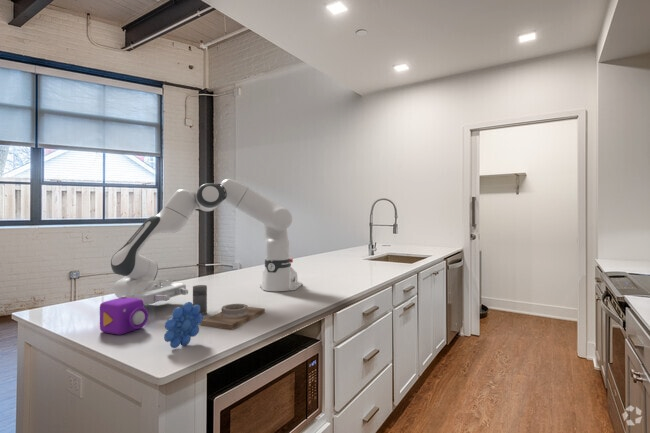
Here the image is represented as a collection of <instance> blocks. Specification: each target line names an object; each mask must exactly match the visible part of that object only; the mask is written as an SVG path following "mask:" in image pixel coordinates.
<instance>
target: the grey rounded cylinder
mask: <svg viewBox="0 0 650 433" xmlns="http://www.w3.org/2000/svg"><path fill="white" fill-rule="evenodd" d="M192 304H193V306H194V305H199V306H200V312H199V314H202V316H205V315H207V314H208V285H206V284H197V285H193V286H192Z"/></svg>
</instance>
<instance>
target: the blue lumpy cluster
mask: <svg viewBox="0 0 650 433" xmlns="http://www.w3.org/2000/svg"><path fill="white" fill-rule="evenodd" d="M199 312H200V306H199V305H194V306H193V302H191V301H187V302H185V303H184V304H183V305H182V307H181V306H177V307H175V308H174V309H173V311H172V313H171V315H172V317H170V318H168V319H167V320H166V321H165V324H164V328H165V329H166V330H167V331H166V332H165V334H164V336H163V337H164V338H163V339H164V341H165V342H167V343H169V342H170V343H169V345H170V347H171V348H172V349H177V348H178V347H179V346H182V347H186V346H188V345H189V344H190V342H191V340H192V338H193V337H196V336H197V335H198V334H199V333H200V327H199V326H198V325H201V322H202V320H203V319H204V317H203V316H204V315H202V314H199ZM191 337H192V338H191Z"/></svg>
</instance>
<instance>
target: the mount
mask: <svg viewBox="0 0 650 433" xmlns="http://www.w3.org/2000/svg"><path fill="white" fill-rule="evenodd" d="M265 310H266V309H265V308H264V307H254V306H248V304H245V303H230V304H226V305H222V307H221V312H217V313H216V314H213V315H211V316H209V317H205V318H203V320H202V322H201V323H200V325H201V326H206V327H214V328H219V329H220V328H221V329H225V330H233V329H236V328H237V327H239V326H241V325H243V324H245V323H247V322H249V321H251V320H253V319H255V318H257V317H259V316H261V315H263V314H265V313H266V311H265Z"/></svg>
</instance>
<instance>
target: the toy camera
mask: <svg viewBox="0 0 650 433" xmlns="http://www.w3.org/2000/svg"><path fill="white" fill-rule="evenodd" d="M148 319H149V312H148V310H147V309H146V308H145V305H144V303H143V300H141V299H137V298H129V297H127V296H121V298H118V297H117V298H115V299H114V298H113V299H110V300H106V301H104V302H100V305H99V329H100V331H101V332H103V333H107V334H112V335H117V336H118V335H119V336H120V335H124V334H127V333H130V332H133V331H136V330H139V329H141V328H143V327H144V326H145V325H146V323H147V321H148Z"/></svg>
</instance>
